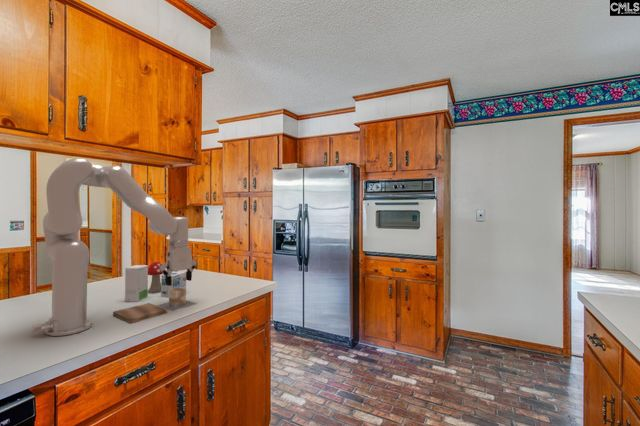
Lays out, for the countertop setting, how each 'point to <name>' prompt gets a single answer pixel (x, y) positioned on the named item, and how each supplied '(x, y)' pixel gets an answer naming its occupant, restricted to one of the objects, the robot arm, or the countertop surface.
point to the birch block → (177, 296)
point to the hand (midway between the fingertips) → (178, 282)
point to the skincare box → (136, 283)
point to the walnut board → (139, 312)
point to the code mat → (167, 306)
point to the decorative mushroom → (155, 277)
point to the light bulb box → (173, 282)
